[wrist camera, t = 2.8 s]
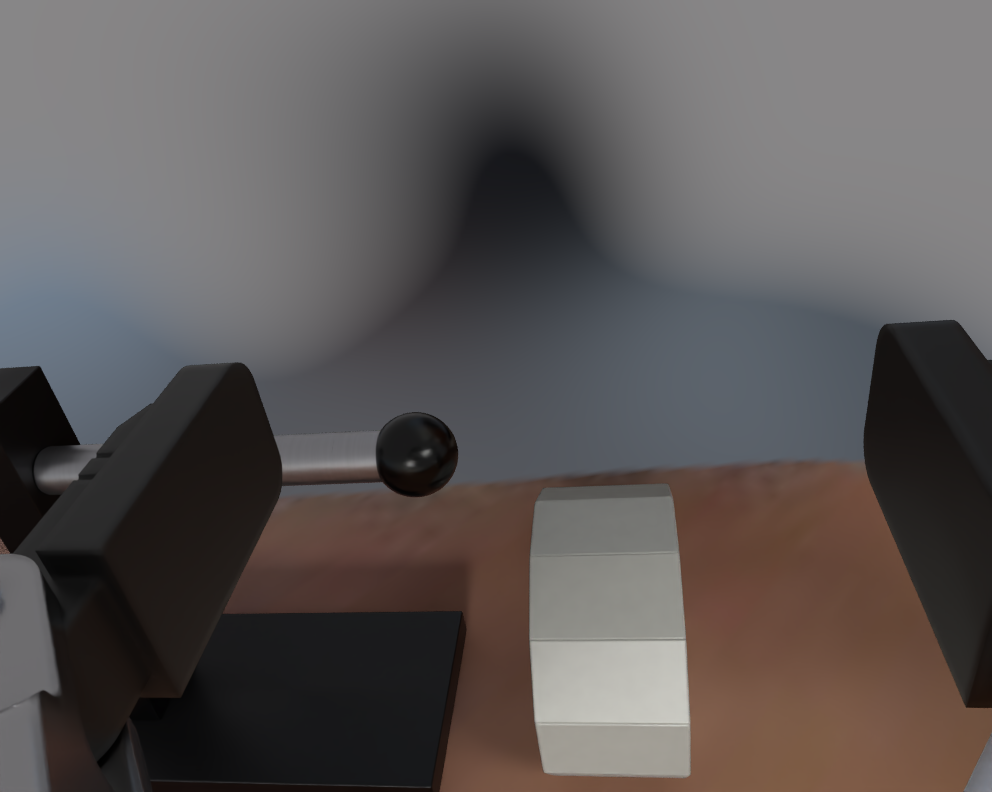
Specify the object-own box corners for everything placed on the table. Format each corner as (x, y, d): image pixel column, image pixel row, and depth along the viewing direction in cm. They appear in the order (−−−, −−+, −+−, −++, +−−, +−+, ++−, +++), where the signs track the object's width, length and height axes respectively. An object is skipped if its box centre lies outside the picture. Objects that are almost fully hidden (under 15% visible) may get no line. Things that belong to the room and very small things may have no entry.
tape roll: (670, 612, 35) (665, 433, 30) (691, 837, 27) (689, 645, 22) (563, 614, 36) (540, 438, 31) (553, 832, 28) (520, 646, 23)
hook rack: (518, 628, 35) (461, 299, 27) (500, 808, 29) (416, 448, 20) (182, 631, 38) (29, 331, 29) (95, 796, 31) (-136, 473, 23)
